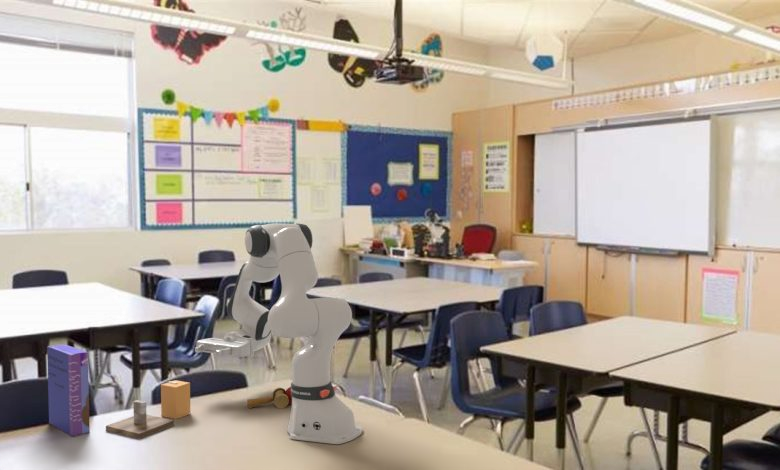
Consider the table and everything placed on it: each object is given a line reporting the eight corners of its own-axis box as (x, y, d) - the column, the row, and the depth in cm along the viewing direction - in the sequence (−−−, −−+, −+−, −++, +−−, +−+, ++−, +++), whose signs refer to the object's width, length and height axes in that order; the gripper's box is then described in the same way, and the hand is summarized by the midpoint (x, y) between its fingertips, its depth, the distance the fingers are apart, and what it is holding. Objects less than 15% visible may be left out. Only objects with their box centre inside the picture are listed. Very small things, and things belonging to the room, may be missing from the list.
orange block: (190, 413, 209) (189, 381, 208) (176, 419, 204) (175, 386, 203) (175, 410, 212) (175, 379, 211) (161, 415, 207) (160, 383, 206)
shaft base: (173, 425, 198) (173, 399, 197) (139, 438, 186) (138, 411, 186) (141, 418, 204) (141, 392, 204) (105, 430, 193) (105, 404, 193)
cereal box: (89, 432, 192) (87, 351, 191) (72, 436, 188) (70, 354, 187) (65, 419, 203) (63, 343, 202) (49, 423, 200) (47, 345, 199)
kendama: (250, 416, 211) (305, 403, 216) (246, 396, 211) (301, 384, 216) (248, 413, 218) (302, 401, 223) (245, 394, 219) (298, 382, 224)
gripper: (212, 332, 236) (184, 339, 224) (257, 338, 227) (229, 345, 214) (213, 349, 237) (184, 357, 224) (257, 356, 227) (229, 364, 215)
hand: (206, 351), depth 219 cm, fingers open, 8 cm apart
